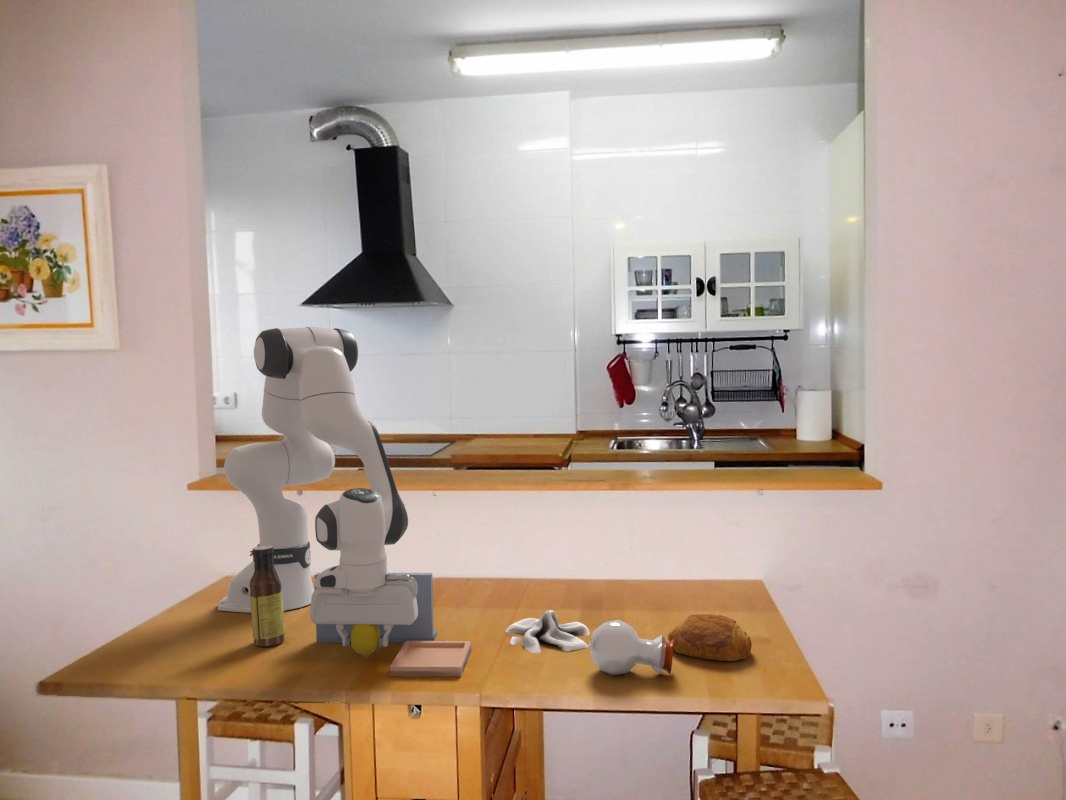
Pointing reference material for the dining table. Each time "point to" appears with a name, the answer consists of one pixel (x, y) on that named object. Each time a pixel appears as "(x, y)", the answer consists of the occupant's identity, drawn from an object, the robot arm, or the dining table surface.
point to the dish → (431, 659)
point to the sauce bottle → (266, 600)
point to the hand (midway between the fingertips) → (365, 645)
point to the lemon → (364, 638)
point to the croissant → (711, 638)
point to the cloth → (548, 633)
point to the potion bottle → (628, 649)
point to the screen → (400, 633)
